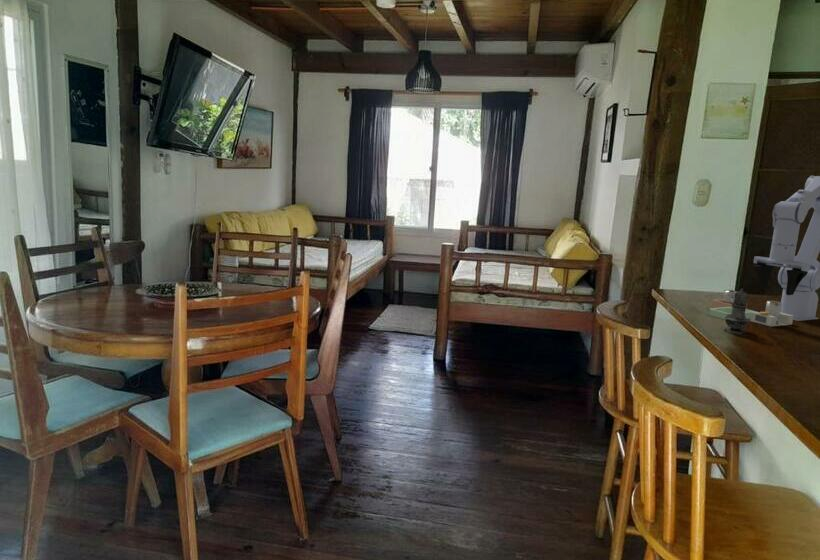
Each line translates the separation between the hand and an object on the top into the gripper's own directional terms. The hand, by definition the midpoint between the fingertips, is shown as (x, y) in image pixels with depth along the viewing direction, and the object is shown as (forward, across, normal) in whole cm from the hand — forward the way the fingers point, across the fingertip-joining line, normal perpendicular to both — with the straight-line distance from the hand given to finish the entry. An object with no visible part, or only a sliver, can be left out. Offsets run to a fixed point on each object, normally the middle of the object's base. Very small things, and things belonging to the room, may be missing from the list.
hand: (776, 292), depth 150 cm
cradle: (+9, 0, 0) cm, 9 cm away
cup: (+9, -15, +2) cm, 18 cm away
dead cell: (+9, -15, +2) cm, 18 cm away
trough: (+9, -8, -5) cm, 14 cm away
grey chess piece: (+10, +4, -19) cm, 22 cm away
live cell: (+9, 0, 0) cm, 9 cm away
